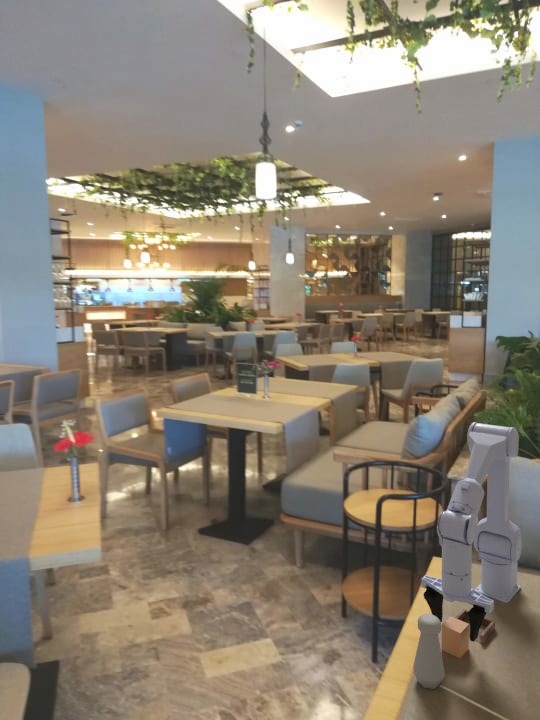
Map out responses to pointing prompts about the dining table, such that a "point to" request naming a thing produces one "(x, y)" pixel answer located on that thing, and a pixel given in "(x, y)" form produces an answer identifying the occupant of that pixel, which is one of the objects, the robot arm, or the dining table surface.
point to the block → (455, 637)
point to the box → (485, 627)
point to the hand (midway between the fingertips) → (455, 630)
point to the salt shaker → (429, 653)
